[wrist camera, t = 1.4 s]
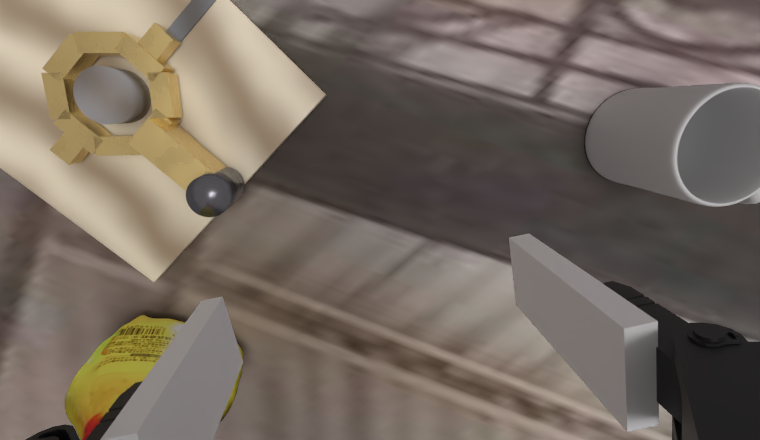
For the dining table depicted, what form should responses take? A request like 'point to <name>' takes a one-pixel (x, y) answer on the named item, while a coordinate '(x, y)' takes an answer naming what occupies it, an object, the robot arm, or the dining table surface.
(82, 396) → the bottle
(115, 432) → the robot arm
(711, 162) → the mug
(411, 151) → the dining table surface
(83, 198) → the post board
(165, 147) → the collar
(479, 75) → the dining table surface
